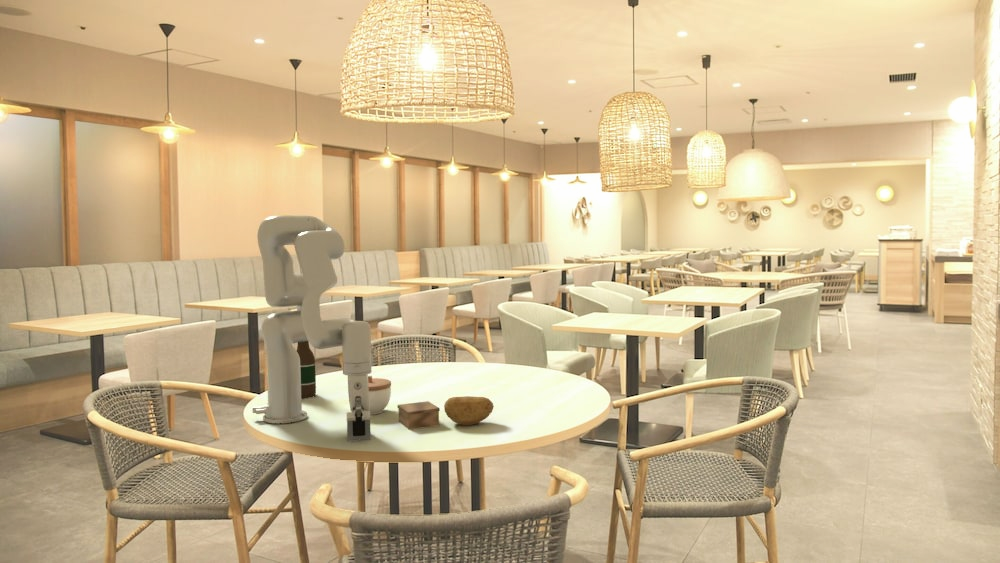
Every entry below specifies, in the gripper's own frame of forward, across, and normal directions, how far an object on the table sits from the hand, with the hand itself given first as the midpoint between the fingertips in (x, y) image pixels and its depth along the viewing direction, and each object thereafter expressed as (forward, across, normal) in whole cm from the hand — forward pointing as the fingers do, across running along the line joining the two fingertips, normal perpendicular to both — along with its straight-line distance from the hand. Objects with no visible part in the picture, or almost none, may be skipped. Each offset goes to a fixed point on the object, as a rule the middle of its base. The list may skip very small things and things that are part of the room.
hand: (358, 430), depth 197 cm
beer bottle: (+2, +54, +17) cm, 57 cm away
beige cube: (+2, 0, 0) cm, 2 cm away
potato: (+2, +6, -31) cm, 32 cm away
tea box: (+2, +10, -17) cm, 20 cm away
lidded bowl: (+2, +27, -4) cm, 27 cm away
